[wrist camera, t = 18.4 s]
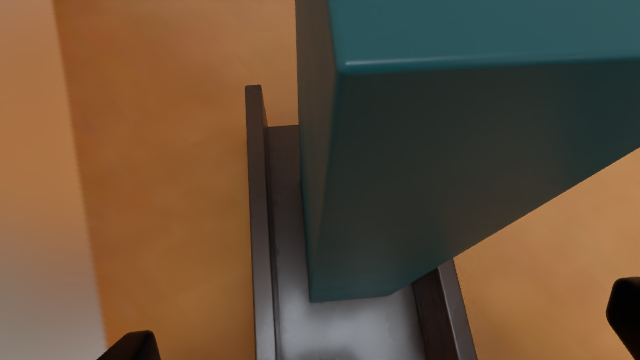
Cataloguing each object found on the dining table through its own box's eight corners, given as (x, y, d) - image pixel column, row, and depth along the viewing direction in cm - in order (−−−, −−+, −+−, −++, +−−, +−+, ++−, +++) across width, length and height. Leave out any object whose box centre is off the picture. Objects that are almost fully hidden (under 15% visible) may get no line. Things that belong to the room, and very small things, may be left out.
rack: (440, 359, 14) (486, 363, 11) (262, 381, 14) (249, 393, 10) (392, 128, 18) (414, 74, 15) (252, 139, 18) (238, 85, 14)
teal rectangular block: (390, 295, 14) (821, 44, 2) (309, 303, 14) (337, 69, 2) (371, 173, 16) (553, -304, 4) (300, 178, 16) (286, -309, 4)
